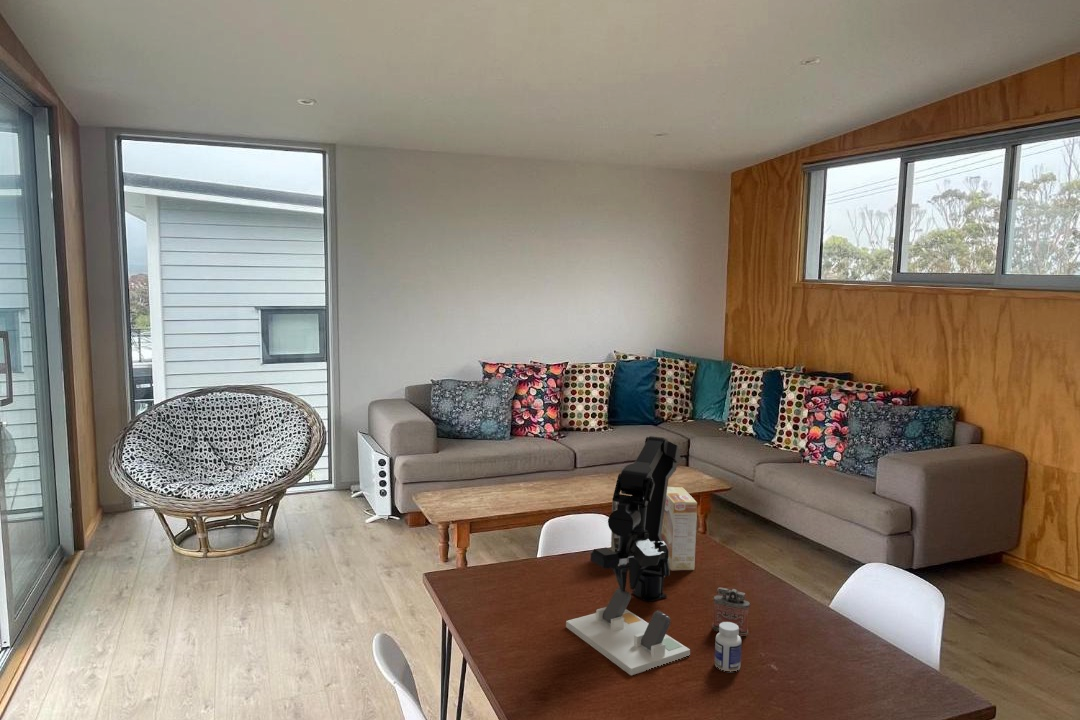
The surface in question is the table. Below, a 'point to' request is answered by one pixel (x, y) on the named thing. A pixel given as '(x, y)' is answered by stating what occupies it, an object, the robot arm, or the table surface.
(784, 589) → the table surface
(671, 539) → the coffeecake box
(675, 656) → the breaker panel
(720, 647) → the pill bottle
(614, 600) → the breaker lever
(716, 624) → the lighter
